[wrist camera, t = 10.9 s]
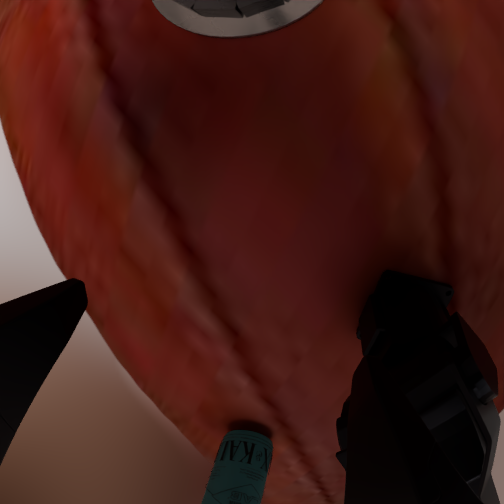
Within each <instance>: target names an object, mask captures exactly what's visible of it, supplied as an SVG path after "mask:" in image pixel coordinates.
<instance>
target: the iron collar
mask: <svg viewBox="0 0 504 504" xmlns="http://www.w3.org/2000/svg"><path fill="white" fill-rule="evenodd" d="M152 1H153V3H154V5H155V7H156V8H157V9H158V10H159V12H160V13H161V14H162V15H163V16H164V17H165V18H166V19H168V20H169V21H171V22H172V23H174V24H175V25H177V26H179V27H181V28H183V29H185V30H187V31H190V32H193V33H196V34H199V35H203V36H208V37H215V38H245V37H252V36H258V35H263V34H266V33H270V32H273V31H277V30H279V29H282V28H284V27H287V26H289V25H291V24H293V23H295V22H297V21H299V20H301V19H302V18H304V17H305V16H307V15H308V14H310V13H311V12H312V11H313V10H315V9H316V8H317V7H318V6H319V5H320V4H321V3H322V2H323V1H324V0H152Z"/></svg>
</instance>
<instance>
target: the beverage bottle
mask: <svg viewBox="0 0 504 504" xmlns="http://www.w3.org/2000/svg"><path fill="white" fill-rule="evenodd" d="M222 441H223V442H222ZM222 441H221V442H222V443H220V446H221V447H220V446H219V449H220V450H218V452H219V453H217V456H216V459H215V460H216V461H214V463H215V464H214V463H213V464H214V467H213V470H212V471H211V472H212V473H211V476H210V479H209V481H208V485H207V488H206V492H205V495H204V498H203V501H202V503H201V504H260V503H261V499H262V496H263V495H264V494H263V490H264V489H265V488H264V486H265V482H266V477H267V473H268V468H269V464H270V465H271V461H270V459H271V460H272V456H273V455H272V452H273V449H274V448H273V444H272V441H271V440H270V439H269V438H267V437H266V436H264V435H262V434H260V433H257V432H253V431H247V430H233V431H230V432H228V433H227V434H226V435H225V436H224V439H223V440H222ZM269 470H270V468H269ZM268 475H269V473H268Z"/></svg>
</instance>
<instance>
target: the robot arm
mask: <svg viewBox="0 0 504 504" xmlns="http://www.w3.org/2000/svg"><path fill="white" fill-rule="evenodd" d="M387 276H391V277H390V278H389V279H385V278H386V277H387ZM447 291H449V292H448V293H446V292H447ZM453 294H454V290H453V288H452V286H450V285H447V284H443V283H439V282H435V281H431V280H427V279H423V278H419V277H415V276H411V275H407V274H403V273H399V272H395V271H391V270H386V271H384V272H383V273H382V275H381V277H380V280H379V282H378V285H377V287H376V289H375V292H374V294H372V295H370V296H369V298H368V300H367V303H366V305H365V307H364V310H363V312H362V314H361V316H360V318H359V327H358V329H357V332H356V334H357V338H358V339H360V340H361V344H362V353H363V356H364V357H363V358H362V360H361V362H360V364H359V365H358V367H357V369H356V370H355V372H354V374H353V378H352V388H351V394H350V396H349V397H348V398H347V399H346V401H345V402H344V404H343V409H342V413H341V417H339V418H338V419H337V421H336V428H337V436H338V442H339V446H340V449H341V451H339V452H337V453H336V457H337V459H338V460H339V462H340V463H341V464H342V466H343V467H344V468H345V471H346V484H345V499H344V504H500V501H499V498H498V495H497V492H496V488H495V485H494V482H493V479H492V476H491V470H492V466H493V461H494V457H495V452H496V446H497V441H498V435H499V430H500V417H499V414H498V412H497V409H496V407H495V405H494V402H493V400H492V399H494V398H495V397H496V396H498V378H497V368H496V366H495V364H494V362H493V360H492V358H491V356H490V354H489V353H488V351H487V349H486V347H485V345H484V344H483V342H482V341H481V340H480V339H479V337H478V336H477V335H476V334H475V332H474V331H473V330H472V329H471V328H470V326H469V325H468V324H467V323H466V322H465V320H464V319H463V318H462V317H461V316H460V314H459V313H458V312H457V311H456V312H455V313H454V314H453V315H452V316H450V315H449V313H448V311H447V309H446V307H447V305H448V304H449V302H450V300H451V298H452V296H453ZM87 304H88V299H87V294H86V289H85V284H84V282H83V281H81V280H78V279H75V278H71V279H69V280H66V281H63V282H60V283H58V284H54V285H52V286H49V287H46V288H43V289H41V290H38V291H35V292H32V293H30V294H27V295H24V296H21V297H19V298H16V299H13V300H11V301H8V302H5V303H3V304H0V465H1V463H2V461H3V458H4V456H5V454H6V452H7V450H8V448H9V446H10V444H11V441H12V439H13V437H14V435H15V433H16V431H17V429H18V427H19V425H20V423H21V421H22V419H23V418H24V416H25V414H26V412H27V410H28V408H29V406H30V405H31V403H32V401H33V399H34V397H35V396H36V394H37V392H38V391H39V389H40V387H41V385H42V384H43V382H44V380H45V379H46V377H47V375H48V374H49V372H50V370H51V369H52V367H53V365H54V364H55V362H56V360H57V359H58V357H59V356H60V354H61V353H62V351H63V349H64V348H65V346H66V344H67V343H68V341H69V340H70V338H71V336H72V334H73V332H74V330H75V328H76V326H77V324H78V322H79V320H80V319H81V317H82V315H83V313H84V311H85V309H86V307H87Z"/></svg>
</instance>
